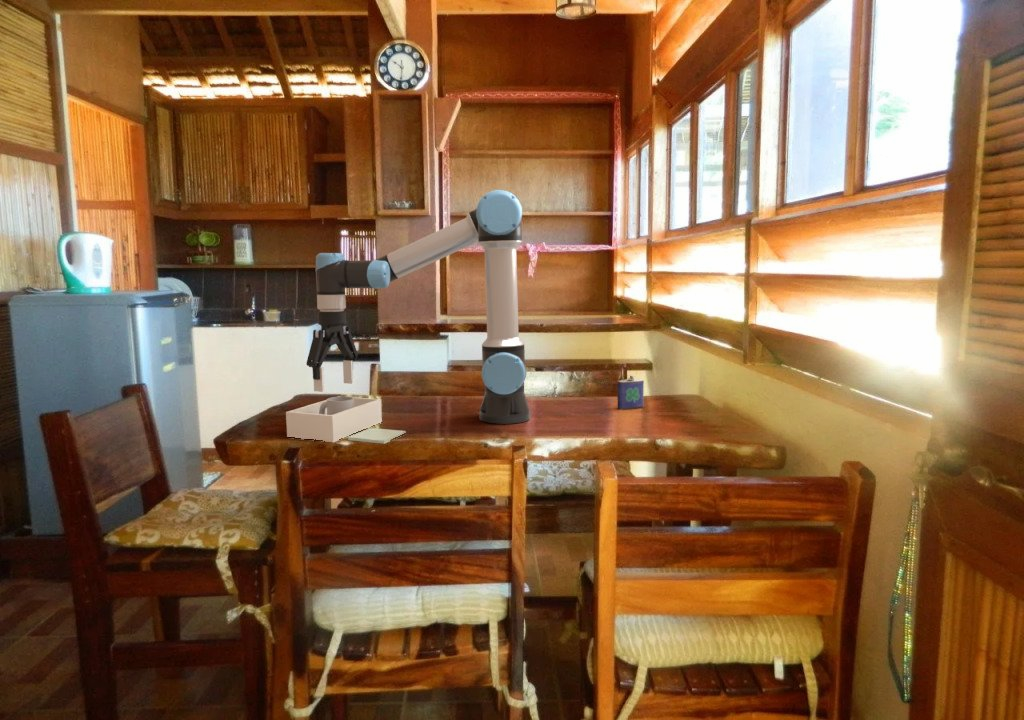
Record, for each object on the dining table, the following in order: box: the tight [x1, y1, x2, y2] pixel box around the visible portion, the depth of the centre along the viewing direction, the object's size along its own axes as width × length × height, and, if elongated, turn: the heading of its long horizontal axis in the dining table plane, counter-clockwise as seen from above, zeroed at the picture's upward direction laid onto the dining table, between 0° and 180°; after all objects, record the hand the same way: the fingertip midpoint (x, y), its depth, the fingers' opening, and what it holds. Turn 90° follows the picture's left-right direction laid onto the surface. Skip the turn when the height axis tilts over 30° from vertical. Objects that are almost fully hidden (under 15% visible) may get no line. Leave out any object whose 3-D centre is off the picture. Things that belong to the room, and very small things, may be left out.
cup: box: [319, 395, 354, 415], centre depth 190 cm, size 7×10×9 cm
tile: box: [347, 427, 407, 445], centre depth 182 cm, size 11×11×1 cm
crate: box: [285, 395, 383, 443], centre depth 190 cm, size 15×24×7 cm, turn 159°
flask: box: [617, 374, 645, 411], centre depth 216 cm, size 9×3×11 cm, turn 112°
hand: (334, 387), depth 189 cm, fingers open, 13 cm apart
